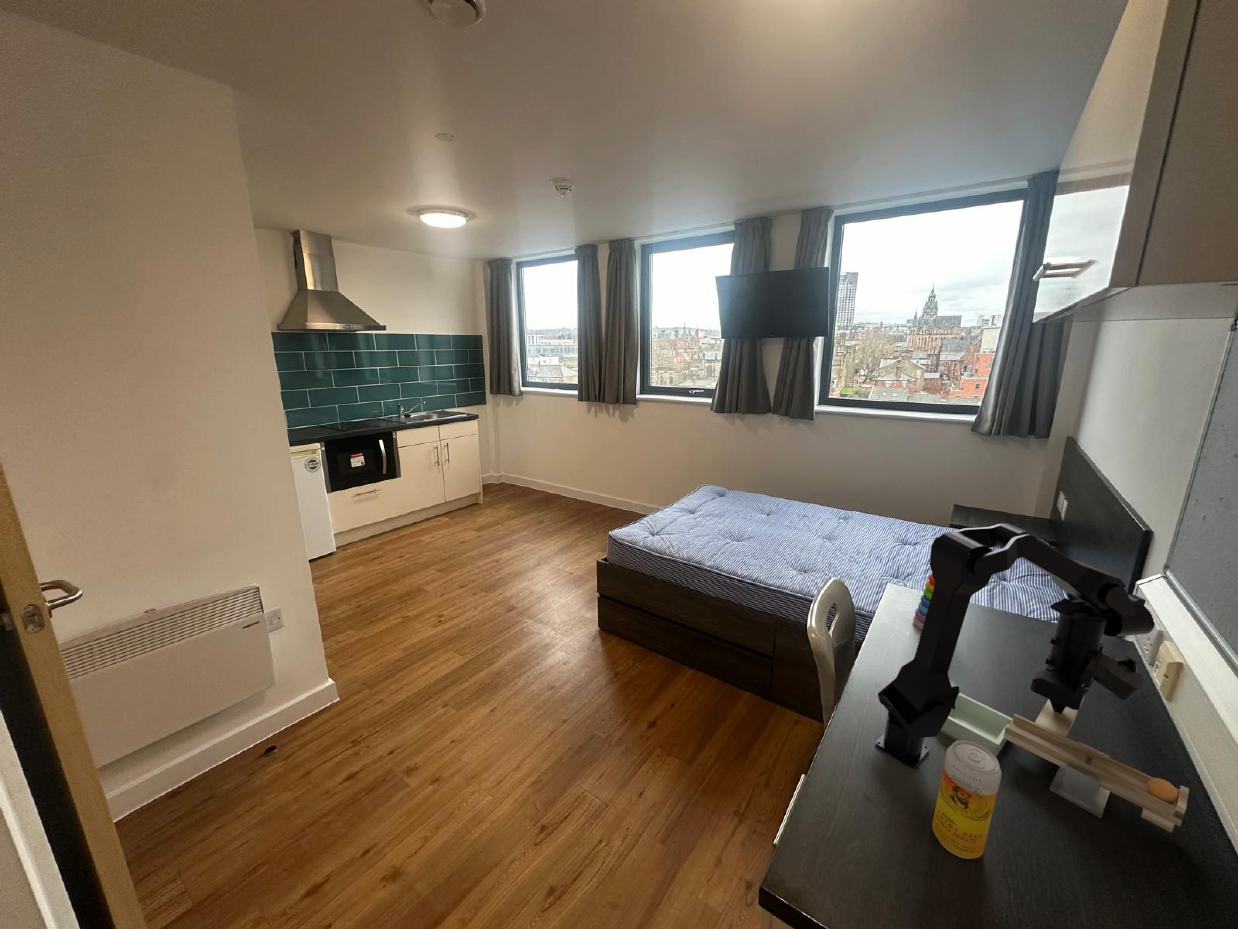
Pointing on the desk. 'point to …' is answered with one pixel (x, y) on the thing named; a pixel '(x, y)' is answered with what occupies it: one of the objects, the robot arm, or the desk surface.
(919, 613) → the stacking toy
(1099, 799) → the silver support block
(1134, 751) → the desk surface
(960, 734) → the tray
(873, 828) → the desk surface
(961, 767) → the beer can
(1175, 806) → the lever
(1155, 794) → the ball
